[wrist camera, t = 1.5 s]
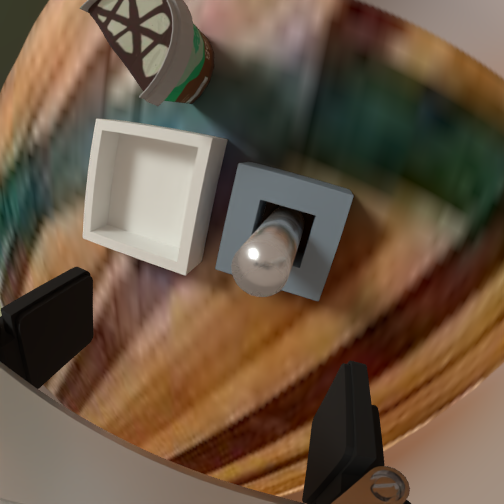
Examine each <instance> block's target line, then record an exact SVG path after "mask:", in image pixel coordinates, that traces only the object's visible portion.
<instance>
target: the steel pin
mask: <svg viewBox="0 0 504 504" xmlns="http://www.w3.org/2000/svg"><path fill="white" fill-rule="evenodd" d="M304 226H305V221H304V217H303V215H302V214H301V212H300V211H299V210H295V209H292V208H288V207H285V206H281V207H279V208H277V209H275V210H274V211H273V212H272V214H271V215H270V216H269V217H268V218H267V219H266V220H265V221H264V222H263V223H262V224H261V226H260V227H259V228H258V229H257V230H256V231H255V232H254V233H253V234H252V235H251V237H250V238H249V239H248V240H247V241H246V242H245V243H244V244H243V245H242V246H241V247H240V249H239V250H238V251H237V252H236V253H235V255H234V257H233V260H232V265H231V269H232V275H233V278H234V280H235V282H236V283H237V285H238V286H239V287H240V288H241V289H242V290H243V291H245V292H246V293H248V294H250V295H253V296H258V297H267V296H271V295H274V294H276V293H277V292H279V291H280V290H281V289H282V288H283V287H284V286H285V284H286V282H287V280H288V277H289V274H290V271H291V268H292V265H293V262H294V259H295V255H296V252H297V249H298V246H299V243H300V240H301V237H302V233H303V230H304Z"/></svg>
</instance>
